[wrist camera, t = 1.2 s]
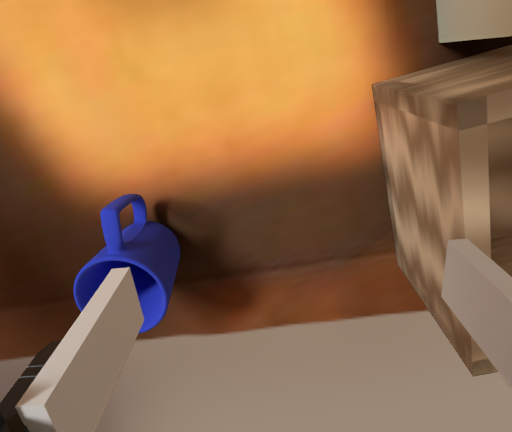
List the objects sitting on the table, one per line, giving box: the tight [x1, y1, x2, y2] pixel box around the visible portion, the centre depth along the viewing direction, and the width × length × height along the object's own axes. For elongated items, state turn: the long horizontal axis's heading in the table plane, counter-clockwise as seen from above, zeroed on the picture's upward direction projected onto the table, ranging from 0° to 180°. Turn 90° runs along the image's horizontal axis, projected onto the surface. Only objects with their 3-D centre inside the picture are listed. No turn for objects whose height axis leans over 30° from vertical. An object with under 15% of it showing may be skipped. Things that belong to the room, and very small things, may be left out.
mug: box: [73, 194, 180, 334], centre depth 35 cm, size 8×12×10 cm
